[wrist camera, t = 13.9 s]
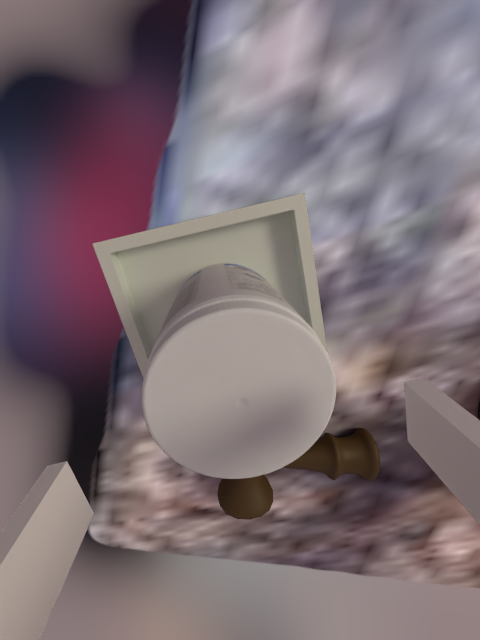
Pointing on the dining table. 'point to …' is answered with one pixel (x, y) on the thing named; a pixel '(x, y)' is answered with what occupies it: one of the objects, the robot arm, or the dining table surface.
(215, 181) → the dining table surface
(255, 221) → the sage tray
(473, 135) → the dining table surface
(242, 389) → the supplement tub
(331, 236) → the dining table surface
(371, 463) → the kendama
